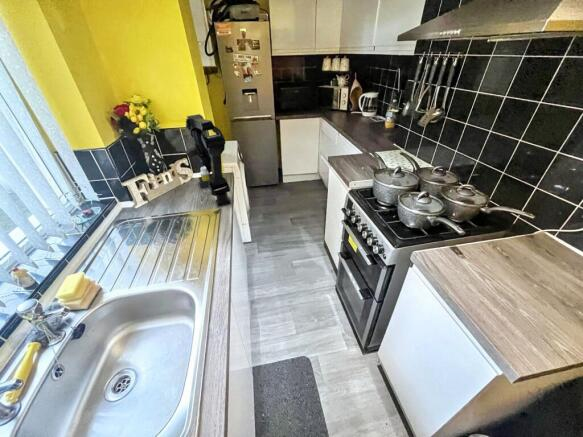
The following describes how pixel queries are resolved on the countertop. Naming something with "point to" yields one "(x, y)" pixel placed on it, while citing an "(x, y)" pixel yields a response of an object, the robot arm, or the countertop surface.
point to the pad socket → (204, 183)
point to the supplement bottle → (204, 174)
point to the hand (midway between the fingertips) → (207, 169)
